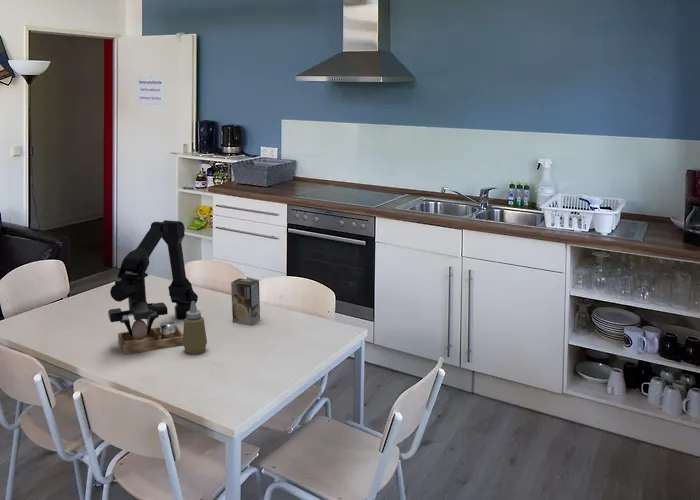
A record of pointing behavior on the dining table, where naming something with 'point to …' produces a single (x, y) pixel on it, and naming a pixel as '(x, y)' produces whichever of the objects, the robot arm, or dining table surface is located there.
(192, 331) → the squeeze bottle
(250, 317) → the coffee box
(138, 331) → the egg
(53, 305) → the dining table surface
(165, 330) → the tin
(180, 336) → the crate
